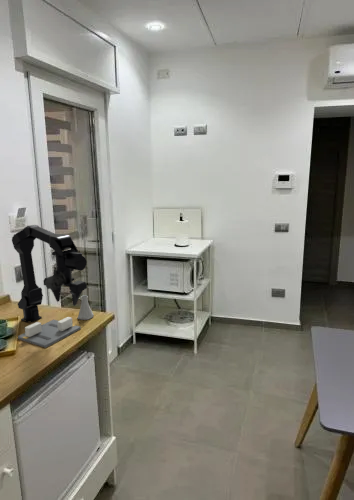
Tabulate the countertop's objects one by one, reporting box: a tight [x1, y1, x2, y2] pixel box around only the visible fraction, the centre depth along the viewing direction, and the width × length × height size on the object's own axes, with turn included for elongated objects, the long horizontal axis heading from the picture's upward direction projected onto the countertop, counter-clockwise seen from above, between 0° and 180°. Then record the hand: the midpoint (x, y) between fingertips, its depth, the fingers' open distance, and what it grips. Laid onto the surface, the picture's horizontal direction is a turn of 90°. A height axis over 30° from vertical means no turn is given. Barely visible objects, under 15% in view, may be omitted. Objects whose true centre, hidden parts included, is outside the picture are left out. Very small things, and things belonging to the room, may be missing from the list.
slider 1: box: [24, 321, 42, 337], centre depth 146 cm, size 2×6×4 cm, turn 151°
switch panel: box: [17, 319, 82, 349], centre depth 149 cm, size 16×19×1 cm
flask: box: [77, 295, 94, 321], centre depth 165 cm, size 7×7×10 cm
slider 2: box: [57, 316, 74, 331], centre depth 151 cm, size 2×6×4 cm, turn 151°
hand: (66, 303), depth 148 cm, fingers open, 9 cm apart
